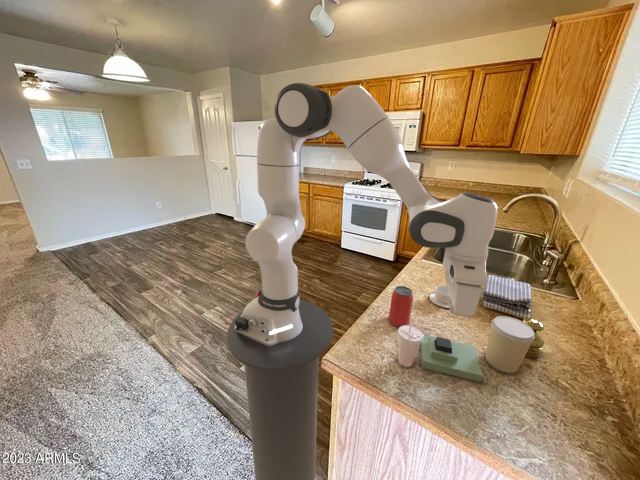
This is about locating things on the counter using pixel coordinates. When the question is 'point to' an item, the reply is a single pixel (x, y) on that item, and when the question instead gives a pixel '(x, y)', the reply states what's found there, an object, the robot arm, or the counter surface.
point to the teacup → (440, 296)
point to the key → (443, 344)
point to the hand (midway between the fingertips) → (452, 309)
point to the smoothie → (408, 343)
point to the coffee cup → (508, 343)
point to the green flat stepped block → (451, 359)
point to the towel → (507, 296)
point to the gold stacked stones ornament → (538, 341)
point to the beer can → (401, 306)
